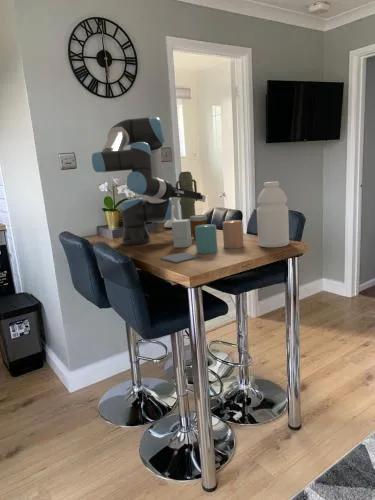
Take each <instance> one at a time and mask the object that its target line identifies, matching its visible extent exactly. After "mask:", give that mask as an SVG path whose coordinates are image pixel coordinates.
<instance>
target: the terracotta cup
mask: <svg viewBox="0 0 375 500" xmlns="http://www.w3.org/2000/svg"><path fill="white" fill-rule="evenodd" d="M222 235H223V237H222V239H223V248H225V249H240V248H243V247H244V245H245V244H244V243H245V242H244V225H243V220H240V219H239V220H238V219H237V220H236V219H235V220H233V219H231V220H226V221H222Z"/></svg>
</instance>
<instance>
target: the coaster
mask: <svg viewBox="0 0 375 500" xmlns="http://www.w3.org/2000/svg"><path fill="white" fill-rule="evenodd" d="M200 258H201V256H200V255H196V254H193V253H188V252H178V253H175V254H171V255H167V256H162V257H160V260H164V261H167V262H170V263H175V264H179V263H182V262H188V261H192V260H195V259H200Z"/></svg>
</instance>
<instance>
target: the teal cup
mask: <svg viewBox="0 0 375 500" xmlns="http://www.w3.org/2000/svg"><path fill="white" fill-rule="evenodd" d="M195 236H196V239H195V245H196V253H197V254H201V255H202V254H203V255H206V254H212V253H217V252H218V237H217V236H218V234H217V225H216V224H214V223H213V224H212V223H211V224H210V223H209V224H207V223H206V225H198V226H195Z"/></svg>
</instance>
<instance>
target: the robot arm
mask: <svg viewBox="0 0 375 500" xmlns="http://www.w3.org/2000/svg"><path fill="white" fill-rule="evenodd" d="M164 143H166V136H165V131H164V126H163V123H162V120H161V118H160V117H158V116H154V117H153V116H152V117H151V116H149V117H140V118H139V117H138V118H128V119H124V120H121V121H119V122H118V123H115V124H114V125H113V126H112V127H111V128H110V129H109V130H108V133H107V141H106V142H105V145H104V146H103V149H102V150H101V151H97V152H93V153H92V154H91V164H92V169H93V171H94V172H96V173H110V172H121V171H123V172H124V171H131V172H130V173H129V174H128V175H127V179H126V182H125V185H126V188H127V189H128V190H129V191H130V192H132V193H134V194H136V195H137V194H138V195H142V196H146V199H144V198H143V197H137V198H132V199H128V200H125V201H123V202H122V203H121V214H122V222H123V223H122V224H123V225H122V226H123V232H122V233H123V234H122V237H121V244H122V245H125V246H135V245H136V246H137V245H142V244H149V242H150V243H151V236H150V234H149V231H148V229H147V226H146V223H151V222H164V221H165V222H166V221H168V220H170V219H171V209H172V206H173V204H172V200H177V201H179V200H180V201H181V197H186V198H192V199H195V202H198V201H199V202H202V203H206V198H207V195H204V194H202V193H201V192H198V191H197V192H195V191H194V190H193V191H194V192H193V191H188V190H183V189H180V188H178V189H177V188H176V186H175V187H174V186H173V184H172V183H171V182H170V181H167V180H164V172H163V171H164V170H163V164H162V155H161V149H162V148H163V147H164ZM127 146H130V148H129V149H124V148H126V147H127ZM178 190H179V191H178ZM178 193H179V194H178ZM180 201H179V202H180Z"/></svg>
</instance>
